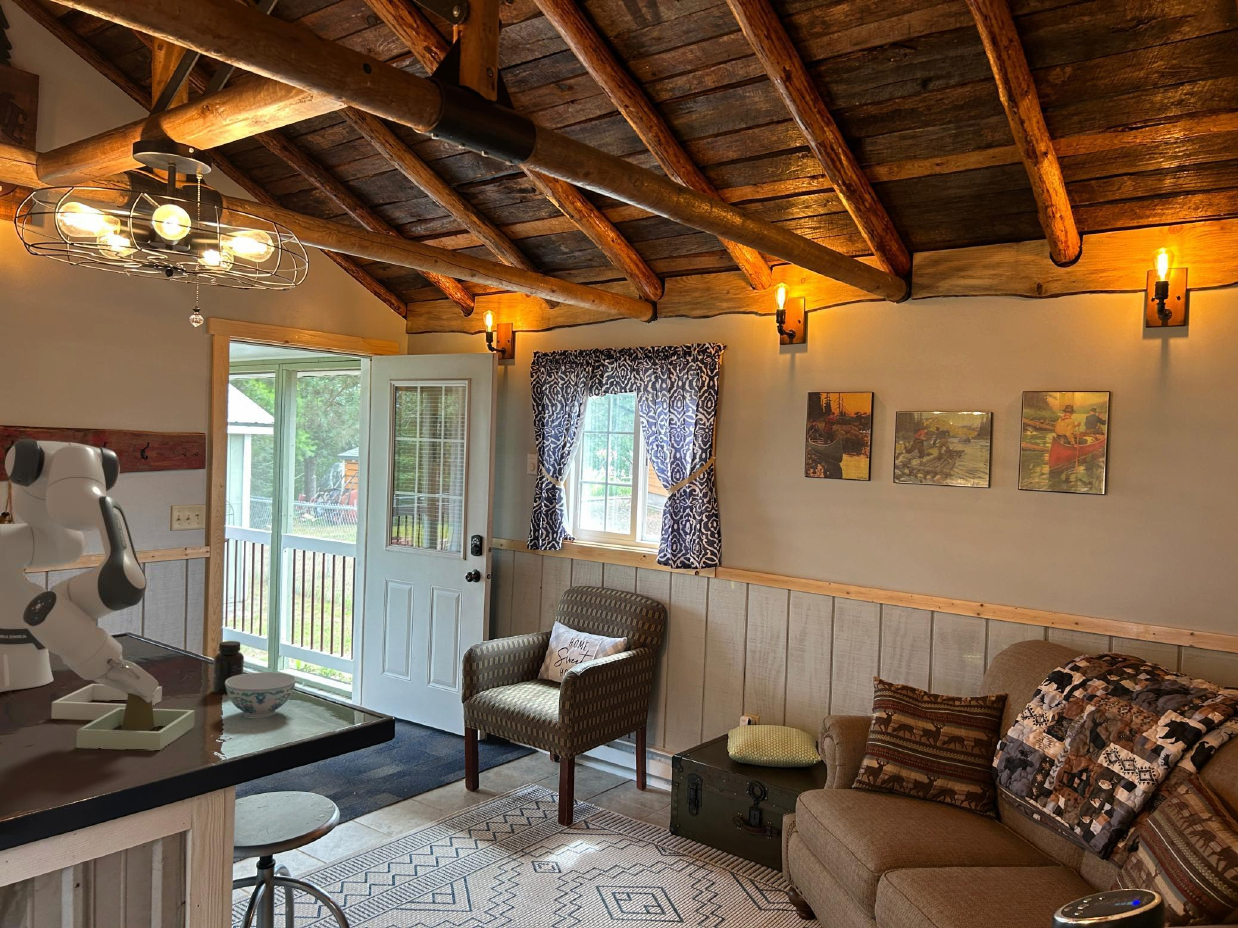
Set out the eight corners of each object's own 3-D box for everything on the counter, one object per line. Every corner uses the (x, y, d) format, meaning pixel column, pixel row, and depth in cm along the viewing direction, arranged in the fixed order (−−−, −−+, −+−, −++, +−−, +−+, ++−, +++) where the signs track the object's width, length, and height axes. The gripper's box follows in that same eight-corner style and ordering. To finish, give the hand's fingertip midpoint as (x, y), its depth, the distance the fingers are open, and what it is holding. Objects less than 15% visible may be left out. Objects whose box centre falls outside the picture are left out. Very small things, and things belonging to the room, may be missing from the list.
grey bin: (51, 718, 194) (52, 702, 194) (91, 698, 210) (92, 683, 210) (127, 721, 195) (128, 704, 195) (161, 701, 211) (162, 686, 211)
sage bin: (76, 747, 177) (77, 729, 177) (117, 723, 193) (118, 707, 193) (159, 750, 178) (160, 732, 178) (194, 726, 194) (194, 710, 194)
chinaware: (272, 701, 216) (274, 669, 216) (307, 714, 206) (309, 681, 206) (210, 712, 204) (212, 678, 204) (244, 727, 195) (246, 692, 195)
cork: (140, 733, 182) (143, 678, 182) (114, 730, 183) (117, 675, 183) (161, 724, 188) (163, 672, 188) (135, 721, 189) (138, 669, 189)
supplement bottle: (205, 692, 221) (208, 643, 221) (227, 686, 227) (229, 638, 227) (227, 696, 218) (229, 646, 218) (248, 690, 225) (251, 641, 224)
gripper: (137, 651, 174) (183, 692, 182) (81, 636, 185) (126, 675, 193) (113, 678, 170) (160, 719, 179) (57, 661, 181) (104, 700, 190)
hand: (142, 696), depth 186 cm, fingers closed on cork, 4 cm apart
